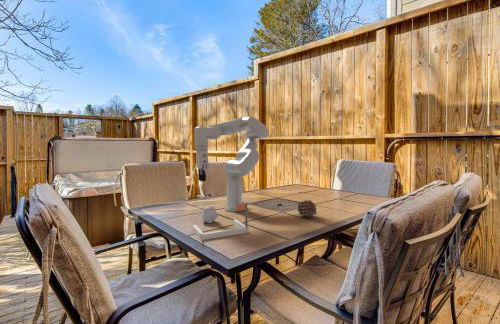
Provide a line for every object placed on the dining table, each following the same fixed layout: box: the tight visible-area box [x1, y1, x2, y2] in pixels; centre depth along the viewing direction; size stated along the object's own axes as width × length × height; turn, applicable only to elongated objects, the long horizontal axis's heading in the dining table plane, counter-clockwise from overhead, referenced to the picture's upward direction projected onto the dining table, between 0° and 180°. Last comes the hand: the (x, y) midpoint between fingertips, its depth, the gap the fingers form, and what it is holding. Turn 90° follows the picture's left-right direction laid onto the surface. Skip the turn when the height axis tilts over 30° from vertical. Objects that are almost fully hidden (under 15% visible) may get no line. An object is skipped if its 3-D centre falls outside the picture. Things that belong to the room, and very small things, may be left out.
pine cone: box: [293, 199, 318, 218], centre depth 163 cm, size 22×10×10 cm, turn 26°
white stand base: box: [192, 202, 249, 241], centre depth 135 cm, size 23×16×14 cm
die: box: [200, 205, 219, 224], centre depth 151 cm, size 8×9×10 cm
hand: (202, 180), depth 160 cm, fingers open, 3 cm apart
